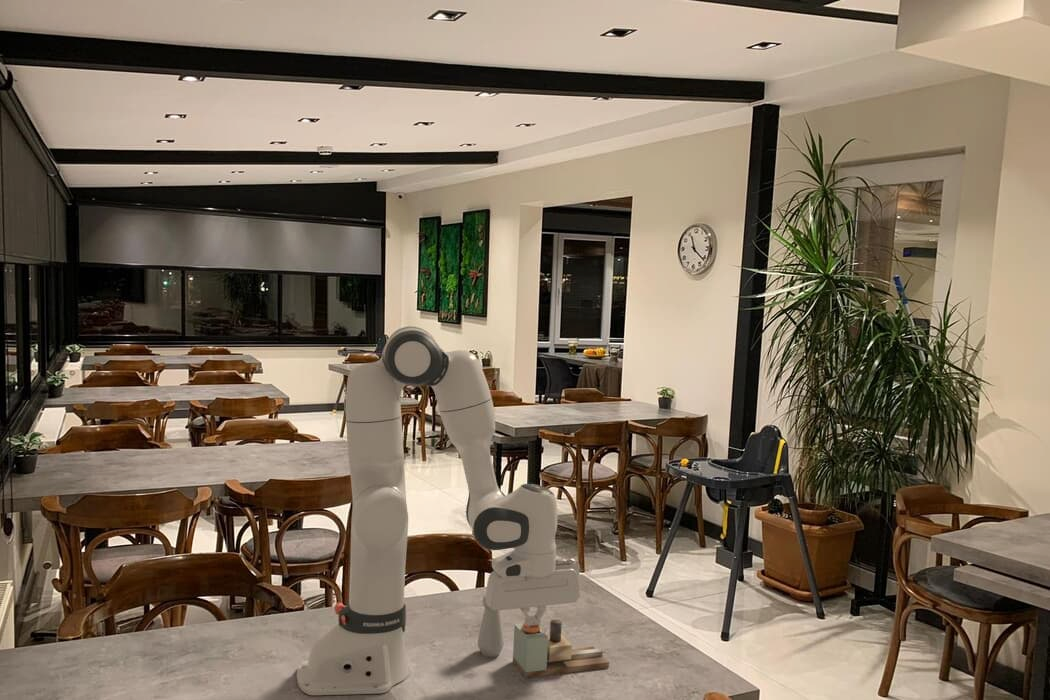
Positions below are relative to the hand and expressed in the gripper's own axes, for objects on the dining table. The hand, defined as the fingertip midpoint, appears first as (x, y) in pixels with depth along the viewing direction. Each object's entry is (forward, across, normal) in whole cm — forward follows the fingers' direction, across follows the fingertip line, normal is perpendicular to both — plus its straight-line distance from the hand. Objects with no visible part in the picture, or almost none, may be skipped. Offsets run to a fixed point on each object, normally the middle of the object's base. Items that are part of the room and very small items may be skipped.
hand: (532, 625), depth 173 cm
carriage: (+7, -5, 0) cm, 9 cm away
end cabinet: (+8, 0, 0) cm, 8 cm away
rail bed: (+9, -7, 0) cm, 12 cm away
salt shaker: (+9, +6, -9) cm, 14 cm away
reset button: (+5, 0, 0) cm, 5 cm away
